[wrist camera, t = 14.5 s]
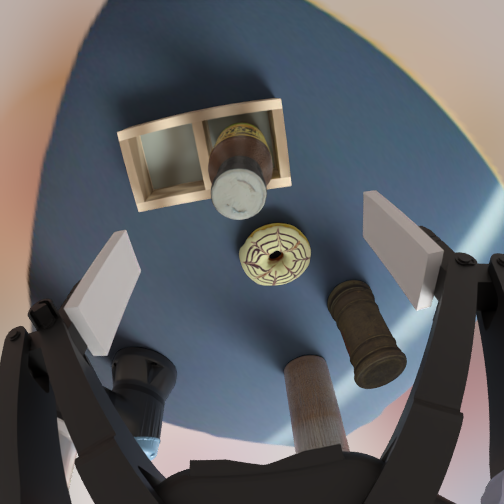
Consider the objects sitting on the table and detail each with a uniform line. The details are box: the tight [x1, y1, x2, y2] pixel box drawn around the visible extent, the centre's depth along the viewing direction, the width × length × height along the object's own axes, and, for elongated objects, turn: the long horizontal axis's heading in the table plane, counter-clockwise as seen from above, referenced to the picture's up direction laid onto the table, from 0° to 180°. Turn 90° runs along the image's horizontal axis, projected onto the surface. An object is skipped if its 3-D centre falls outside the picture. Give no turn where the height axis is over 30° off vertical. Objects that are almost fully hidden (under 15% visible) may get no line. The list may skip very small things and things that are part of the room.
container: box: [328, 280, 407, 389], centre depth 46 cm, size 9×9×18 cm
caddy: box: [117, 98, 291, 212], centre depth 37 cm, size 20×11×6 cm, turn 98°
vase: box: [284, 355, 349, 454], centre depth 52 cm, size 10×10×28 cm
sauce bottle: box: [208, 122, 273, 220], centre depth 29 cm, size 6×6×20 cm
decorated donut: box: [239, 223, 311, 285], centre depth 46 cm, size 10×11×4 cm
